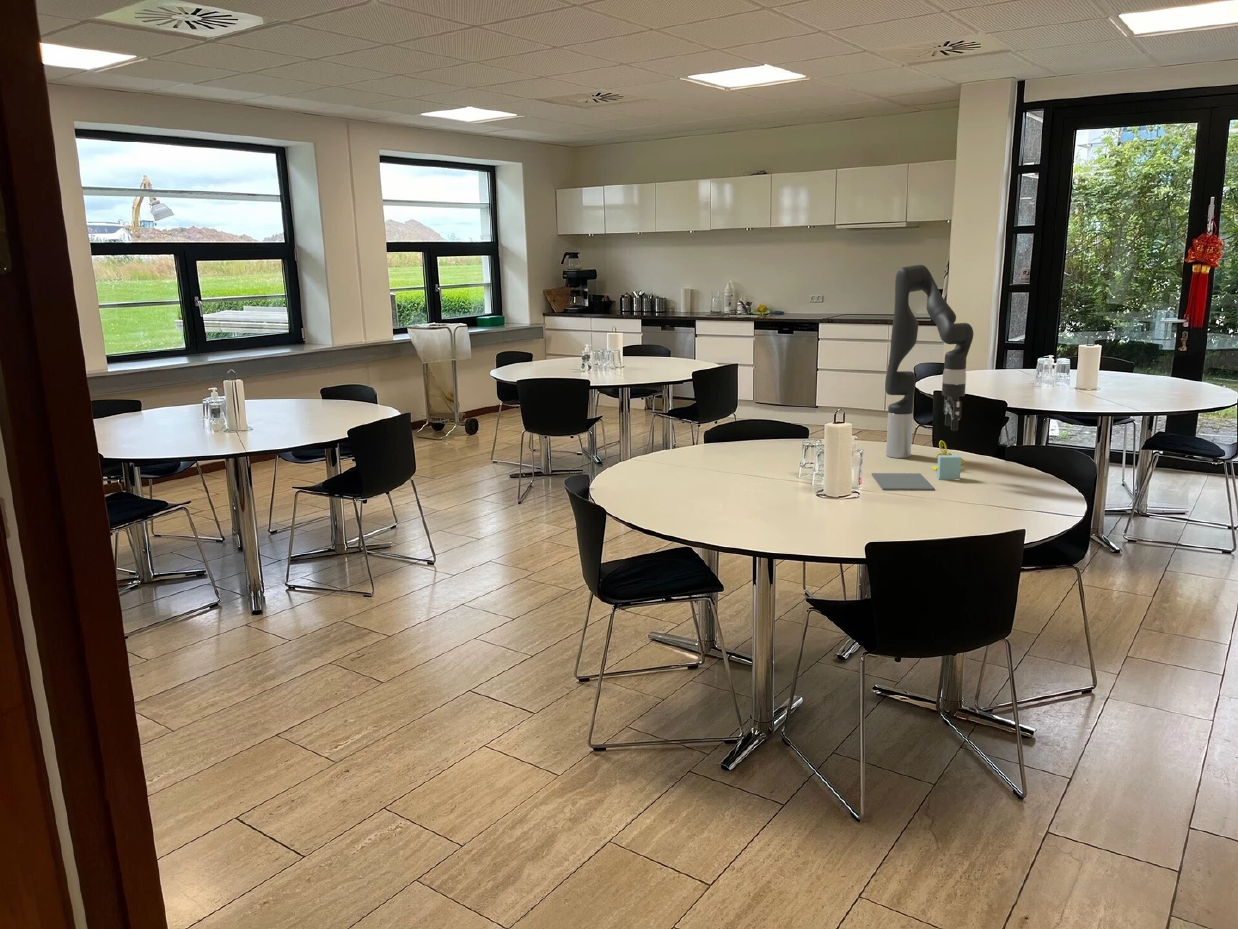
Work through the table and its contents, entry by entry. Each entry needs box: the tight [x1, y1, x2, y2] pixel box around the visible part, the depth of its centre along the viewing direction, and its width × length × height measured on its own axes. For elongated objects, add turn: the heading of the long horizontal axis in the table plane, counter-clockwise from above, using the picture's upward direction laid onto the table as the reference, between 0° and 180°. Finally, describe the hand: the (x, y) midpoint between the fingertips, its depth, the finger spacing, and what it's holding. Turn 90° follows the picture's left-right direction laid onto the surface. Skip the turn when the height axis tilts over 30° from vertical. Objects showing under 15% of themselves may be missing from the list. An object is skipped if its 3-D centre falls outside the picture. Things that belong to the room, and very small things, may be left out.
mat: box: [871, 472, 936, 491], centre depth 315 cm, size 22×17×1 cm
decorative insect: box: [931, 440, 966, 472], centre depth 332 cm, size 13×3×10 cm
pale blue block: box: [936, 454, 962, 481], centre depth 318 cm, size 4×7×8 cm, turn 84°
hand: (951, 428), depth 315 cm, fingers open, 8 cm apart
